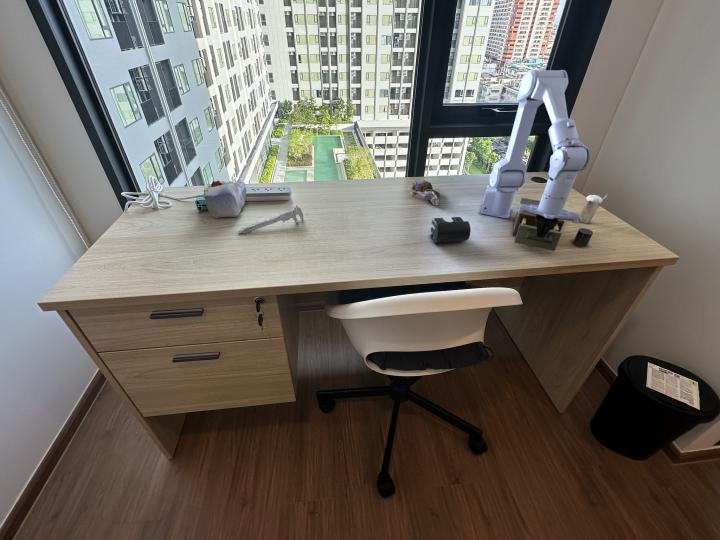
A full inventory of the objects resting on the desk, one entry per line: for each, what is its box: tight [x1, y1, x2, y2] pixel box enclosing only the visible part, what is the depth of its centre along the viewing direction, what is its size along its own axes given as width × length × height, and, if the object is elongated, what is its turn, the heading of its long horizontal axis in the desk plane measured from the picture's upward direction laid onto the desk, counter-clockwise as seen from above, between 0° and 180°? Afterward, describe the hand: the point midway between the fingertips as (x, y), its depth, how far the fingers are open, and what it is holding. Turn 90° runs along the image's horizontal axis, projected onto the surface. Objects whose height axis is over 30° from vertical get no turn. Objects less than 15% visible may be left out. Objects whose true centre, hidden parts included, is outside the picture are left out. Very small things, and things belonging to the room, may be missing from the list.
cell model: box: [203, 180, 247, 219], centre depth 113 cm, size 13×11×20 cm
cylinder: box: [572, 227, 594, 248], centre depth 99 cm, size 4×4×4 cm
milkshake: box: [578, 193, 608, 224], centre depth 109 cm, size 5×5×10 cm
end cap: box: [429, 216, 471, 244], centre depth 99 cm, size 10×7×7 cm
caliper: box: [238, 204, 304, 234], centre depth 104 cm, size 20×1×6 cm, turn 113°
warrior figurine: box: [410, 179, 442, 206], centre depth 125 cm, size 12×5×18 cm
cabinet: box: [512, 197, 565, 237], centre depth 104 cm, size 13×12×8 cm
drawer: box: [514, 216, 563, 252], centre depth 98 cm, size 16×11×6 cm
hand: (537, 239), depth 93 cm, fingers closed, pressing on drawer
